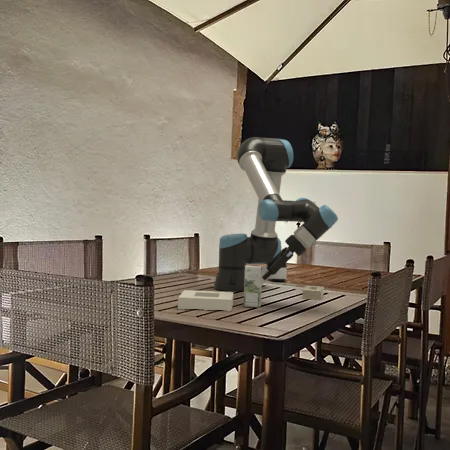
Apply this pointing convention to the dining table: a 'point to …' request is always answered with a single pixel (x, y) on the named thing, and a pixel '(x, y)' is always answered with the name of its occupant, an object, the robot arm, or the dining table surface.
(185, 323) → the dining table surface
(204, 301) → the holder block
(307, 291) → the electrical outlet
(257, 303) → the syrup box
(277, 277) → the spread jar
